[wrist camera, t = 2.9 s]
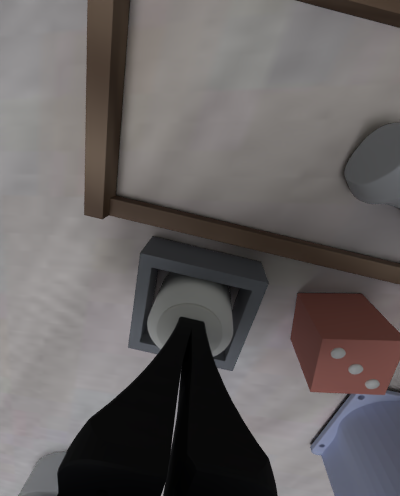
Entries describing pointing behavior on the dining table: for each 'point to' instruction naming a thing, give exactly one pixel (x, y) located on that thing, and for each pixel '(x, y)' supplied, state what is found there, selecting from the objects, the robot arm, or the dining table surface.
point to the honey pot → (44, 477)
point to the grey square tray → (203, 267)
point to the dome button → (192, 309)
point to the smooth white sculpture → (376, 167)
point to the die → (344, 344)
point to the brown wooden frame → (107, 203)
